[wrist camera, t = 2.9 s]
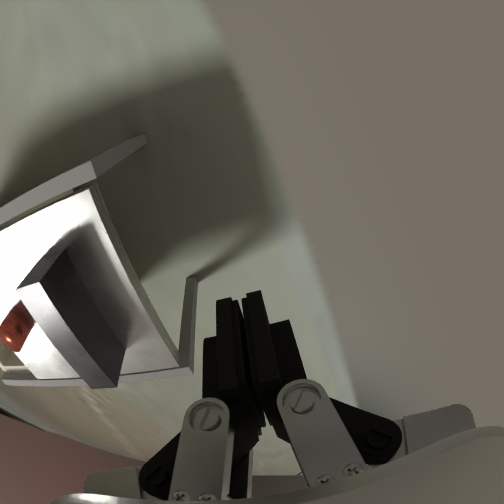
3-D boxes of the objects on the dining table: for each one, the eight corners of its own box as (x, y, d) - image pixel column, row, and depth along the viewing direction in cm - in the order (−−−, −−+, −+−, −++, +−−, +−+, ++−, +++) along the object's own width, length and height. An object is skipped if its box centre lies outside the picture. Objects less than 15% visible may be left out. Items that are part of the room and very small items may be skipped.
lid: (-39, 252, 12) (-69, 283, 8) (97, 182, 11) (59, 214, 8) (41, 369, 17) (27, 405, 14) (180, 354, 17) (177, 404, 14)
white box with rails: (-27, 220, 19) (-83, 271, 10) (145, 132, 19) (90, 160, 10) (29, 320, 26) (-4, 384, 17) (197, 283, 26) (193, 374, 17)
